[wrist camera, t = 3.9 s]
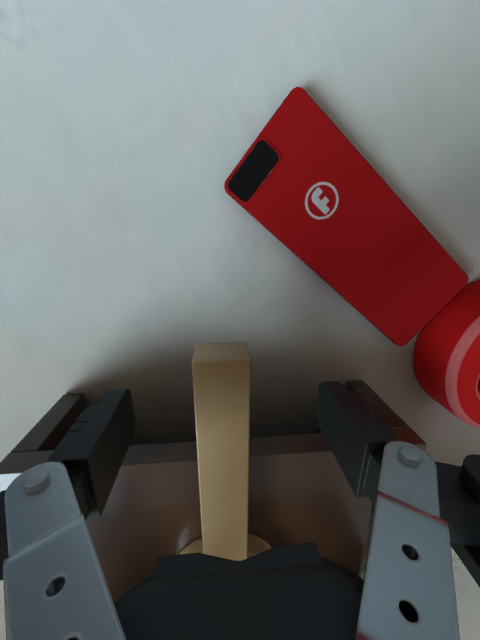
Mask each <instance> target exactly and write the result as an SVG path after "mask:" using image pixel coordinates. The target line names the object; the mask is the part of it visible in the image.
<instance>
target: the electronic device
mask: <svg viewBox="0 0 480 640" xmlns="http://www.w3.org/2000/svg"><path fill="white" fill-rule="evenodd" d="M224 187H225V191H226V193H227V194H228V195H229V196H231V197H232V198H233V199H234V200H235V201H236V202H237V203H238V204H240V205H241V206H242V207H243V208H244V209H245V210H246V211H247V212H248V213H250V214H251V215H252V216H253V217H254V218H255V219H256V220H257V221H258V222H260V223H261V224H262V225H263V226H264V227H265V228H266V229H267V230H268V231H270V232H271V233H272V234H273V235H274V236H275V237H276V238H277V239H278V240H280V241H281V242H282V243H283V244H284V245H285V246H286V247H287V248H289V249H290V250H291V251H292V252H293V253H294V254H295V255H296V256H297V257H299V258H300V259H301V260H302V261H303V262H304V263H305V264H306V265H307V266H309V267H310V268H311V269H312V270H313V271H314V272H315V273H316V274H317V275H319V276H320V277H321V278H322V279H323V280H324V281H325V282H326V283H327V284H329V285H330V286H331V287H332V288H333V289H334V290H335V291H336V292H338V293H339V294H340V295H341V296H342V297H343V298H344V299H345V300H346V301H348V302H349V303H350V304H351V305H352V306H353V307H354V308H355V309H356V310H358V311H359V312H360V313H361V314H362V315H363V316H364V317H365V318H366V319H368V320H369V321H370V322H371V323H372V324H373V325H374V326H375V327H377V328H378V329H379V330H380V331H381V332H382V333H383V334H384V335H385V336H387V337H388V338H389V339H390V340H391V341H392V342H393V343H394V344H396V345H398V346H404V345H406V344H407V343H408V342H409V341H410V340H411V339H412V338H413V337H414V336H415V335H416V334H417V333H418V332H419V331H420V330H421V329H422V328H423V327H424V326H425V325H426V324H427V323H428V322H429V321H430V320H431V319H432V318H433V317H434V316H435V315H436V314H437V313H438V312H439V311H440V310H441V309H442V308H443V307H444V306H445V305H446V304H447V303H448V302H449V301H450V300H451V299H452V298H453V297H454V296H455V295H456V294H457V293H459V292H460V291H461V290H462V289H463V288H464V287H465V286H466V284H467V283H468V276H467V275H466V273H465V272H464V271H463V270H462V269H461V268H460V267H459V266H458V264H457V263H456V262H455V261H454V260H453V259H452V258H451V256H450V255H449V254H448V253H447V252H446V251H445V250H444V248H443V247H442V246H441V245H440V244H439V243H438V242H437V240H436V239H435V238H434V237H433V236H432V235H431V234H430V233H429V231H428V230H427V229H426V228H425V227H424V226H423V225H422V223H421V222H420V221H419V220H418V219H417V218H416V217H415V215H414V214H413V213H412V212H411V211H410V210H409V209H408V207H407V206H406V205H405V204H404V203H403V202H402V201H401V200H400V198H399V197H398V196H397V195H396V194H395V193H394V192H393V190H392V189H391V188H390V187H389V186H388V185H387V184H386V182H385V181H384V180H383V179H382V178H381V177H380V176H379V174H378V173H377V172H376V171H375V170H374V169H373V168H372V167H371V165H370V164H369V163H368V162H367V161H366V160H365V159H364V157H363V156H362V155H361V154H360V153H359V152H358V151H357V149H356V148H355V147H354V146H353V145H352V144H351V143H350V142H349V140H348V139H347V138H346V137H345V136H344V135H343V134H342V132H341V131H340V130H339V129H338V128H337V127H336V126H335V124H334V123H333V122H332V121H331V120H330V119H329V118H328V116H327V115H326V114H325V113H324V112H323V111H322V110H321V109H320V107H319V106H318V105H317V104H316V103H315V102H314V101H313V99H312V98H311V97H310V96H309V95H308V94H307V93H306V91H305V90H304V89H303V88H301V87H296V88H294V89H292V91H291V92H290V93H289V94H288V96H287V97H286V99H285V100H284V101H283V103H282V104H281V105H280V107H279V108H278V110H277V111H276V112H275V114H274V115H273V116H272V118H271V119H270V121H269V122H268V123H267V125H266V126H265V127H264V129H263V130H262V132H261V133H260V134H259V136H258V137H257V138H256V140H255V141H254V142H253V144H252V145H251V147H250V148H249V149H248V151H247V152H246V153H245V155H244V156H243V158H242V159H241V160H240V162H239V163H238V164H237V166H236V167H235V169H234V170H233V171H232V173H231V174H230V175H229V177H228V178H227V180H226V181H225V185H224Z"/></svg>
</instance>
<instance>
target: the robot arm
mask: <svg viewBox="0 0 480 640" xmlns="http://www.w3.org/2000/svg"><path fill="white" fill-rule="evenodd" d="M316 415H317V422H318V425H319V428H320V430H321V432H322V433H323V435H324V437H325V439H326V441H327V443H328V445H329V447H330V449H331V451H332V453H333V454H334V456H335V458H336V460H337V462H338V464H339V466H340V468H341V470H342V472H343V474H344V475H345V477H346V479H347V481H348V483H349V485H350V487H351V489H352V491H353V493H354V495H355V496H356V498H363V497H369V498H370V500H371V502H372V506H371V511H370V517H369V522H368V528H367V534H366V540H365V545H364V551H363V557H362V562H361V568H360V573H359V576H358V575H357V574H356V573H354V572H353V571H351V570H350V569H348V568H346V567H345V566H343V565H341V564H339V563H337V562H335V561H332V560H329V559H326V558H322V557H320V555H319V551H318V548H317V545H316V542H311V543H300V544H289V545H278V546H276V547H274V548H271V549H269V550H266V551H264V552H262V553H259V554H257V555H254V556H252V557H250V558H247V559H245V560H242V561H235V560H230V559H225V558H221V557H216V556H211V555H207V554H202V553H190V554H179V555H168V556H159V557H158V563H157V568H156V573H153V574H151V575H149V576H147V577H145V578H143V579H141V580H140V581H138V582H137V583H135V584H134V585H132V586H131V587H130V588H128V589H127V590H126V591H125V592H124V593H122V594H121V595H120V596H119V597H118V598H117V599H116V600H115V601H114V602H113V600H112V597H111V594H110V591H109V588H108V585H107V582H106V580H105V577H104V574H103V571H102V568H101V565H100V562H99V559H98V556H97V553H96V550H95V547H94V545H93V542H92V539H91V536H90V533H89V530H88V527H87V524H86V520H87V518H92V517H101V515H102V512H103V510H104V507H105V505H106V502H107V500H108V497H109V495H110V492H111V490H112V487H113V485H114V482H115V480H116V478H117V475H118V473H119V470H120V468H121V465H122V463H123V460H124V458H125V455H126V453H127V450H128V448H129V445H130V443H131V440H132V438H133V435H134V430H135V418H134V411H133V404H132V397H131V392H130V390H129V389H116V390H108V392H107V393H106V394H105V396H104V397H103V399H102V400H101V402H100V403H94V404H92V405H91V406H90V407H88V408H87V409H85V410H84V411H83V412H82V413H81V414H80V416H79V417H78V418H77V420H76V421H75V424H73V425H72V427H71V428H70V429H69V432H67V433H66V435H65V436H64V437H63V439H62V440H61V441H60V443H59V444H58V446H57V447H56V448H55V450H54V451H53V452H52V454H51V455H50V456H49V458H48V459H47V460H46V462H45V463H42V464H39V465H36V466H34V467H32V468H30V469H28V470H26V471H25V472H23V473H22V474H20V475H19V476H18V477H17V478H15V479H14V480H13V481H12V482H11V484H10V485H9V486H8V488H7V490H4V491H0V580H3V583H4V603H5V622H6V640H460V634H459V624H458V614H457V604H456V594H455V584H454V574H453V565H452V555H451V546H452V548H453V549H454V551H455V552H456V554H457V555H458V556H459V558H460V559H461V561H462V562H463V564H464V565H465V567H466V568H467V570H468V571H469V572H470V574H471V575H472V577H473V578H474V580H475V581H476V583H477V584H478V585H479V587H480V455H469V456H467V457H465V459H464V461H463V464H462V467H460V466H455V465H450V464H445V463H440V462H435V461H434V460H433V458H432V457H431V456H430V455H429V454H428V453H427V452H425V451H424V450H423V449H421V448H419V447H418V446H416V445H413V444H411V443H408V442H404V441H400V440H399V439H398V437H397V436H396V435H395V434H394V433H393V432H392V431H391V429H390V428H389V427H388V426H387V425H386V424H385V423H384V421H383V420H382V419H381V418H380V417H379V416H378V415H377V413H376V412H375V411H374V410H373V409H371V407H370V405H369V404H368V403H367V402H366V401H365V400H364V399H363V398H361V397H360V396H358V395H357V394H355V393H354V392H348V390H347V389H346V388H345V387H344V385H343V384H342V383H341V382H340V381H323V382H321V383H320V386H319V394H318V403H317V412H316Z"/></svg>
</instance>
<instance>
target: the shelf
mask: <svg viewBox="0 0 480 640" xmlns="http://www.w3.org/2000/svg"><path fill="white" fill-rule="evenodd" d="M346 389H347V390H348V392H354V393H355V394H357V395H358V396H360V397H361V398H363V399H364V400H365V401H366V402H367V403H368V404H369V405H370V407H371V409H373V410H374V411H375V412H376V413H377V415H378V416H379V417H380V418H381V419H382V420H383V421H384V423H385V424H386V425H387V426H388V427H389V428H390V429H391V431H392V432H393V433H394V434H395V435H396V436H397V437H398V439H399V440H400V441H404V442H408V443H411V444H413V445H416V446H418V447H419V448H421V449H423V450H424V451H425V447H426V443H425V442H424V441H423V440H422V439H421V438H420V437H419V436H418V435H417V434H416V433H415V432H414V431H413V430H412V429H411V428H409V426H408V425H407V424H406V423H405V422H404V421H403V420H402V419H401V418H400V417H399V416H398V415H397V414H396V413H395V412H394V411H393V410H392V409H391V408H390V407H389V406H388V405H387V404H386V403H385V402H384V401H383V400H382V399H381V398H380V397H379V396H378V395H377V394H376V393H375V392H374V391H373V390H372V389H371V388H370V387H369V386H368V385H367V384H366V383H365V382H364V381H347V386H346ZM85 409H86V407H85V402H84V397H83V394H65V395H63V396H62V397H61V398H60V399H59V400H58V401H57V403H56V404H55V405H54V406H53V407H52V408H51V409H50V410H49V411H48V412H47V413H46V414H45V415H44V417H43V418H42V419H41V420H40V421H39V422H38V423H37V424H36V425H35V426H34V427H33V428H32V429H31V431H30V432H29V433H28V434H27V435H26V436H25V437H24V438H23V439H22V440H21V441H20V442H19V443H18V445H17V446H16V447H15V448H14V449H13V450H12V451H11V453H9V454H8V455H7V456H6V457H5V458H4V459H3V460H2V461H1V463H0V491H4V490H7V488H8V486H9V485H10V484H11V482H12V481H13V480H14V479H15V478H17V477H18V476H19V475H20V474H22V473H23V472H25V471H26V470H28V469H30V468H32V467H34V466H36V465H39V464H42V463H45V462H46V460H47V459H48V458H49V456H50V455H51V454H52V452H53V451H54V450H55V448H56V447H57V446H58V444H59V443H60V441H61V440H62V439H63V437H64V436H65V435H66V433H67V432H69V429H70V428H71V427H72V425H73V424H75V421H76V420H77V418H78V417H79V416H80V414H81V413H82V412H83V411H84V410H85ZM371 506H372V502H371V500H370V498H369V497H363V498H356V496H355V495H354V493H353V491H352V489H351V487H350V485H349V483H348V481H347V479H346V477H345V475H344V474H343V472H342V470H341V468H340V466H339V464H338V462H337V460H336V458H335V456H334V454H333V453H332V451H331V449H330V447H329V445H328V443H327V441H326V439H325V437H324V435H323V433H317V434H302V435H286V436H270V437H254V438H250V441H249V502H248V533H250V534H253V535H256V536H258V537H260V538H262V539H263V540H265V541H266V542H267V543H268V544H269V545H270V546H271V547H272V548H274V547H276V546H278V545H289V544H300V543H311V542H316V545H317V548H318V551H319V555H320V557H322V558H326V559H329V560H332V561H335V562H337V563H339V564H341V565H343V566H345V567H346V568H348V569H350V570H351V571H353V572H354V573H356V574H357V575H358V576H359V573H360V568H361V562H362V557H363V551H364V545H365V540H366V534H367V528H368V522H369V517H370V511H371ZM86 524H87V527H88V530H89V533H90V536H91V539H92V542H93V545H94V547H95V550H96V553H97V556H98V559H99V562H100V565H101V568H102V571H103V574H104V577H105V580H106V582H107V585H108V588H109V591H110V594H111V597H112V600H113V602H114V601H115V600H116V599H117V598H118V597H119V596H120V595H121V594H122V593H124V592H125V591H126V590H127V589H128V588H130V587H131V586H132V585H134V584H135V583H137V582H138V581H140V580H141V579H143V578H145V577H147V576H149V575H151V574H153V573H156V568H157V563H158V557H159V556H168V555H179V554H180V552H181V551H182V550H183V549H184V548H185V547H186V546H187V545H189V544H190V543H192V542H193V541H195V540H197V539H199V538H201V537H202V527H201V510H200V493H199V477H198V460H197V443H196V441H192V442H176V443H160V444H145V445H129V448H128V450H127V453H126V455H125V458H124V460H123V463H122V465H121V468H120V470H119V473H118V475H117V478H116V480H115V482H114V485H113V487H112V490H111V492H110V495H109V497H108V500H107V502H106V505H105V507H104V510H103V512H102V515H101V517H92V518H87V520H86Z"/></svg>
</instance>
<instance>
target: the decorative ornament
mask: <svg viewBox="0 0 480 640" xmlns="http://www.w3.org/2000/svg"><path fill="white" fill-rule="evenodd" d="M413 363H414V372H415V376H416V378H417V381H418V383H419V384H420V386H421V387H422V389H423V390H424V391H425V392H426V393H427V394H428V395H429V396H431V397H432V398H433V399H435V400H436V401H437V402H438V403H440V404H441V405H442V406H444V407H445V408H446V409H448V410H449V411H450V412H452V413H453V414H454V415H456V416H457V417H458V418H459V419H461V420H462V421H464V422H465V423H467V424H469V425H471V426H474V427H478V428H480V280H478V281H475V282H472V283H470V284H467V285H466V286H465V287H464V288H463V289H462V290H461V291H460V292H459V293H457V294H456V295H455V296H454V297H453V298H452V299H451V300H450V301H449V302H448V303H447V304H446V305H445V306H444V307H443V308H442V309H441V310H440V311H439V312H438V313H437V314H436V315H435V316H434V317H433V318H432V319H431V320H430V321H429V322H428V323H427V324H426V325H425V326H424V327H423V328H422V329H421V331H420V333H419V335H418V338H417V341H416V344H415V349H414V357H413Z"/></svg>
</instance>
